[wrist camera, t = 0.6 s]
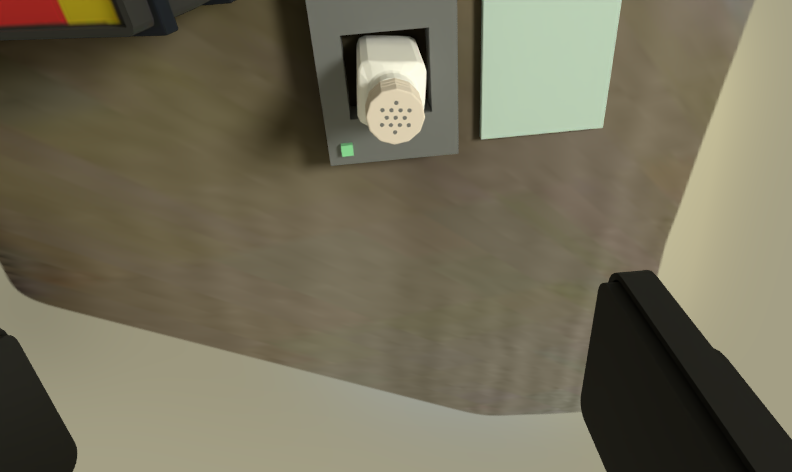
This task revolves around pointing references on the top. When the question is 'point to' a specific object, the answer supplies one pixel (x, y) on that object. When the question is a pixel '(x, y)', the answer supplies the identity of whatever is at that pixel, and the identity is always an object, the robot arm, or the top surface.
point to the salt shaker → (390, 87)
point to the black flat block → (92, 18)
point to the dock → (328, 20)
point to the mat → (545, 65)
